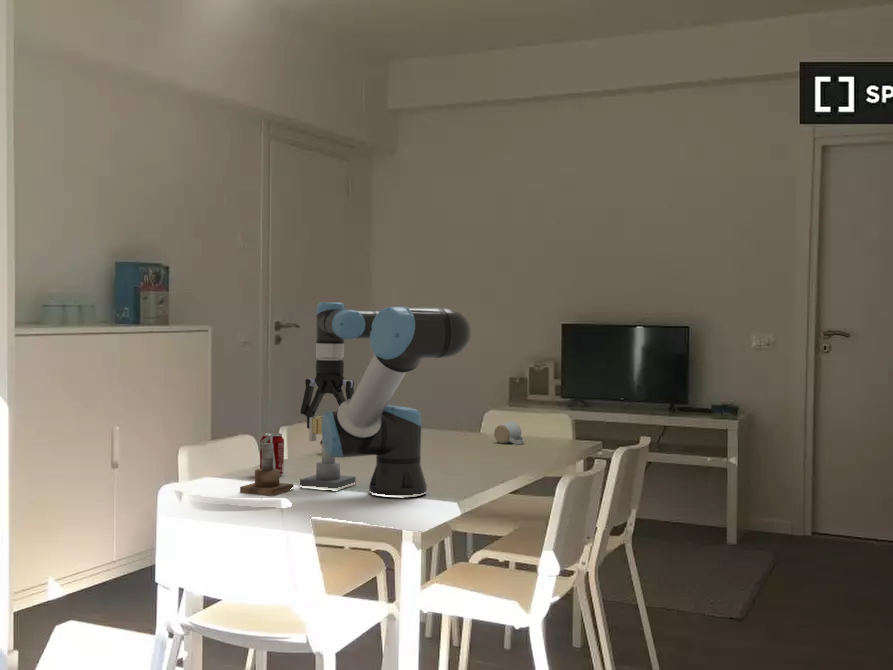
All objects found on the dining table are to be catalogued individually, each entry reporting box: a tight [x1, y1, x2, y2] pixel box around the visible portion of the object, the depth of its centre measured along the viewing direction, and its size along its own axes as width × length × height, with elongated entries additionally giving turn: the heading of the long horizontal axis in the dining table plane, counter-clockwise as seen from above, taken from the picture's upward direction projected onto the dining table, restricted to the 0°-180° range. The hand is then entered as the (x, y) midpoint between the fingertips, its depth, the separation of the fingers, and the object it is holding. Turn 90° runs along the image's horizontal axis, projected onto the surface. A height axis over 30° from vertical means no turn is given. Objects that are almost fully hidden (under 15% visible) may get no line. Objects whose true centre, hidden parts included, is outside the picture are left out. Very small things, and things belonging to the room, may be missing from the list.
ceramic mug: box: [493, 421, 525, 446], centre depth 361 cm, size 11×8×8 cm
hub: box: [299, 437, 357, 488], centre depth 265 cm, size 11×11×13 cm
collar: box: [312, 415, 324, 435], centre depth 265 cm, size 9×9×4 cm
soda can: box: [259, 432, 285, 475], centre depth 281 cm, size 7×7×12 cm
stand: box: [239, 443, 294, 497], centre depth 257 cm, size 10×10×12 cm
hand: (328, 442), depth 265 cm, fingers closed on collar, 9 cm apart
